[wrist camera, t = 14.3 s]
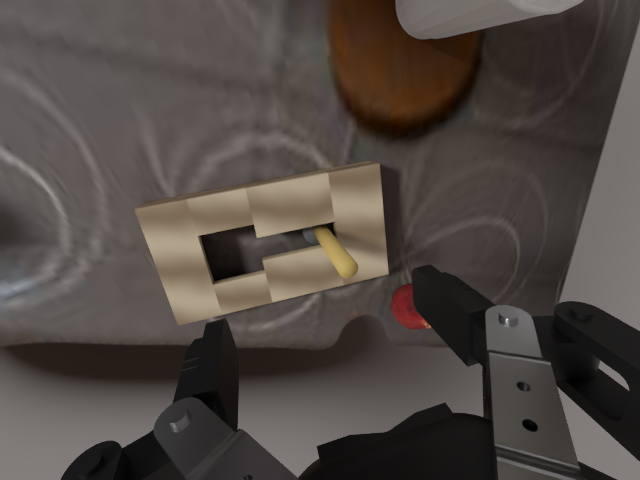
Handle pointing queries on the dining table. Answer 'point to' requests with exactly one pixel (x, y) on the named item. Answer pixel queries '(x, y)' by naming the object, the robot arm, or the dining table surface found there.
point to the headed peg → (332, 248)
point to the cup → (469, 14)
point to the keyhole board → (268, 219)
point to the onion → (407, 309)
